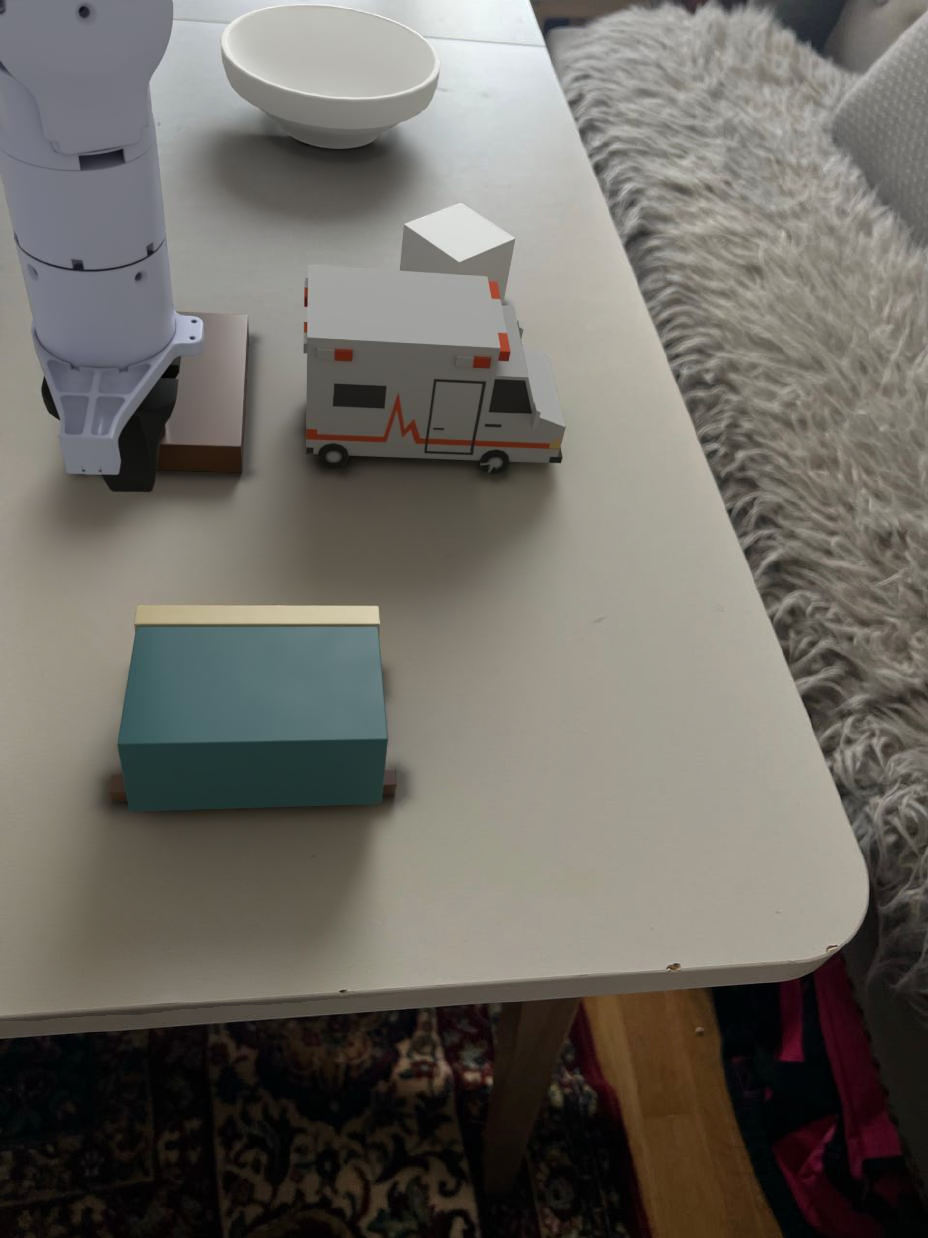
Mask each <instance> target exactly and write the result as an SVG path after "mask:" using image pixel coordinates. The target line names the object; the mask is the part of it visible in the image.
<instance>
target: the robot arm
mask: <svg viewBox="0 0 928 1238" xmlns="http://www.w3.org/2000/svg"><path fill="white" fill-rule="evenodd" d="M173 24H174V1H173V0H0V179H1V184H2V188H3V193H4V197H5V201H6V205H7V210H8V215H9V218H10V222H11V228H12V232H13V238H14V243H15V247H16V251H17V256H18V260H19V264H20V269H21V273H22V277H23V281H24V285H25V290H26V295H27V299H28V303H29V308H30V311H31V316H32V322H31V326H30V332H31V338H32V343H33V347H34V351H35V354H36V357H37V359H38V362H39V364H40V367H41V370H42V373H43V379H42V383H41V387H40V393H41V397H42V400H43V401H42V402H43V404H44V406H45V408H46V410H47V412H48V414H49V415H51V416H52V417H54V418H55V419H56V420H58V421H59V422H60V423H59V426H60V427H59V433H58V439H59V445H60V449H61V453H62V458H63V462H64V466H65V467H64V468H65V471H66V473H67V474H71V475H72V474H73V475H74V474H75V475H91V476H96V475H97V476H98V475H99V476H101V478H102V480H103V481H104V483H105V485H106V486H107V488H108V489H109V490H110V491H111V492H115V493H117V492H118V493H151V492H153V490H154V487H155V482H156V479H157V471H158V470H157V463H158V455H159V443H160V435H161V432H162V430H163V427H164V426H165V424H166V422H167V421H168V420H169V418H170V417H171V414H172V412H173V409H174V406H175V403H176V399H177V389H178V380H179V379H176V377H177V376H178V374H179V371H180V362H181V356H196V355H198V354H200V353H201V352H202V350H203V342H204V325H203V321H202V320H201V319H200V318H198V317H194V316H184V315H180V314H178V313H177V312H176V311H177V310H176V309H175V307H174V297H173V288H172V278H171V269H170V268H171V267H170V258H169V251H168V241H167V228H166V226H167V225H166V218H165V207H164V198H163V189H162V179H161V170H160V158H159V151H158V149H159V148H158V140H157V130H156V122H155V116H154V113H153V105H152V95H151V85H150V81H151V80H152V78H153V75H154V73H155V71H156V70H157V68H158V67H159V66H160V64H161V62H162V60H163V58H164V56H165V54H166V51H167V49H168V45H169V43H170V39H171V36H172V31H173Z"/></svg>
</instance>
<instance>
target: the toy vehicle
mask: <svg viewBox="0 0 928 1238" xmlns="http://www.w3.org/2000/svg"><path fill="white" fill-rule="evenodd" d="M303 284H304V285H303V286H304V290H303V306H304V308H307V321H303V347H302V348H303V349H302V350H303V351H302V352H303V354H306V403H305V404H306V408H305V409H306V415H305V417H306V418H305V455H317V458H318V462H319V463H320V464H321V465H323V467H325V468H329V469H339V468H341V467H343V466H345V465H346V464H348V463H347V462H348V461H349V458H350V457H352V456H354V457H378V458H379V457H382V458H407V459H432V460H433V459H435V460H459V461H460V460H461V461H479V466H480V469H481V470H482V471H483V472H484V473H487V474H490V475H496V474H501V473H502V472H504V471H506V470H507V469H508V467H509V465H510V462H514V463H515V462H516V463H538V464H539V463H540V464H541V463H543V464H562V461H563V458H564V456H563V452H562V447H561V446H562V443H563V440H564V436H565V431H566V428H567V426H566V422H565V418H564V414H563V410H562V409H563V408H562V404H561V401H560V396H559V392H558V389H557V388H558V387H557V383H556V378H555V373H554V369H553V366H552V360H551V356H550V355H548V354H546V353H543V352H541V351H538V350H537V349H534V348H531V347H529V346H526V345H523V341H522V338H523V333H524V325H523V323H522V322H521V321H520V320H519V319H517V314H516V310H515V307H514V305H506V304H505V305H504V304H503V305H502V304H501V299H500V294H499V288H498V283H497V282H495V281H488V277H487V276H472V275H457V274H442V273H427V272H412V271H400V270H396V269H395V270H394V269H382V268H380V269H379V268H365V267H364V268H363V267H349V266H337V265H336V266H335V265H320V264H308V265H307V277H304V283H303Z"/></svg>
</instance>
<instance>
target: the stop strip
mask: <svg viewBox="0 0 928 1238" xmlns="http://www.w3.org/2000/svg"><path fill="white" fill-rule="evenodd" d="M397 788H398V781H397V769H396V768H385V774H384V784H383V794H382V796H386V795H387V796H388V795H389V796H390V795H391V796H393V795H396V792H397ZM108 795H109V798H110V801H111V802H112V803H113V802H114V803H115V802H128V801H127V795H126V790H125V784H124V779H123V773H120V774H118V773H117V774H111V775H110V778H109V785H108Z"/></svg>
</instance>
